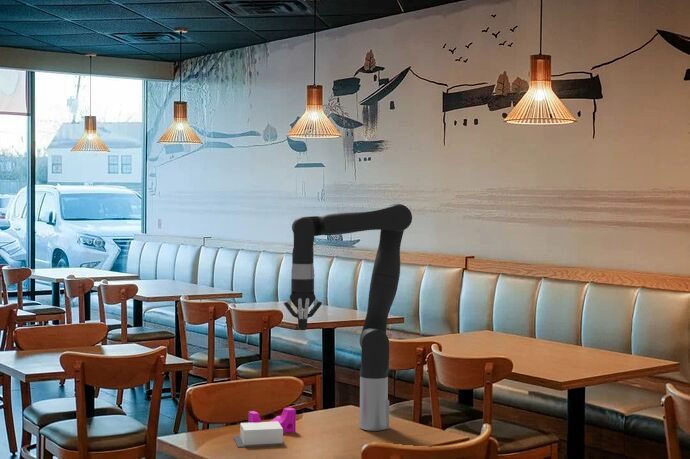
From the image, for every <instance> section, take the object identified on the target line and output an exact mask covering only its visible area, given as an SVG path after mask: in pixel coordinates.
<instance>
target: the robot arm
mask: <svg viewBox="0 0 690 459" xmlns="http://www.w3.org/2000/svg"><path fill="white" fill-rule="evenodd" d="M412 222H413V213H412V211H411V210H410V209H409V207H408V206H406V205H404V204H401V203H392V204H389V205H388V206H386V207H385V208H381V209H376V210H369V211H357V212H355V211H353V212H351V211H350V212H349V211H348V212H337V213H328V214H323V215H311V216H299V217H297V218H296V219H294V220H293V222H292V224H291V230H292V233H293V247H292V255H291V258H292V260H291V262H292V263H291V272H290V273H291V274H290V275H291V276H290V277H291V280H290V281H291V282H290V287H291V288H290V295H289V298H288V299H287V300H286V301H283V305H284V306H285V308H286V310H288V312H289V313H290V314H291V316H292V317H294V318H296V319H297V328H298V329H299V330H300V331H305V330H306V329H307V328H308V319H309V318H312V317H313V316H314V315H315V314H316V312H317V311H318V310H319V308H320V307H321V306H322V304H323V303H322V302H321V301H320V300H318V299H317V298H316V295H315V266H314V259H315V258H314V256H315V255H314V244H315V237H319V236H336V235H344V234H351V233H358V232H365V231H366V232H367V231H379V230H380V234H379V244H378V248H377V251H376V254H375V258H374V264H373V268H372V272H371V277H370V284H369V290H368V291H369V292H368V298H367V300H368V301H367V309H366V310H367V311H366V314H365V318H364V322H363V323H364V324H363V326H362V329H361V333H360V336H359V345H360V348H361V357H360V358H361V364H360V368H359V428H360V429H361V430H365V431H373V432H374V431H375V432H376V431H384V430H390V400H389V399H388V394H389V393H388V392H389V391H388V388H389V386H388V385H389V375H388V374H389V368H390V338H389V337H388V335H387V329H388V327H387V326H388V318H389V314H390V311H391V308H392V306H393V303H394V301H395V298H396V296H397V292H398V287H399V281H400V275H401V243H402V239H403V235H404V232H405V230H406V229H408V228H409V227H410V225H412ZM312 305H313V307H312V308H311V309H309V308H310V307H311V306H312ZM292 306H294V307H295V308H296V311H295V310H294V309H293V307H292Z"/></svg>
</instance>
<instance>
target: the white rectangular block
mask: <svg viewBox="0 0 690 459" xmlns="http://www.w3.org/2000/svg"><path fill="white" fill-rule="evenodd" d="M239 427H240V428H239V430H240V431H239V436H240V438H241V440H242V442H243V444H244V445H255V444H275V443H281V444H283V443H284V433H283V428H282V427H281V425H280V424H279V422H278V421H276V422H269V421H262V422H253V423H248V422H241V423H240V424H239Z"/></svg>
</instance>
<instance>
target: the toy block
mask: <svg viewBox="0 0 690 459" xmlns="http://www.w3.org/2000/svg"><path fill="white" fill-rule="evenodd" d="M282 410H283V411H282V413H281V415H276V416H275V417H274V418H273V419H272V420H270V421H268V422H276V421H278V422H279V424H280V425H281V427H282V428H283V434H287V433H286V432H290V433H296V432H297V431H296V427H297V426H296V423H297V421H296V420H297V418H296V417H297V415H296V414H297V413H296V412H297V411H296V409H295V408H293V407H284V408H283V409H282ZM247 421H248V422H247V423H253V422H263V421H262V419H261V418H260V413H259V412H257V411H255V410H250V411H249V410H248V420H247ZM295 431H296V432H295Z"/></svg>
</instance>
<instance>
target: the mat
mask: <svg viewBox="0 0 690 459" xmlns="http://www.w3.org/2000/svg"><path fill="white" fill-rule="evenodd" d="M232 437H233V440H234V442H235V444H236V447H237V448H255V447H273V446H274V447H276V446H282V445H283V443H275V444H255V445H244V444H243V442H242V440H241V438H240V435H237V436H236V435H235V436H232Z"/></svg>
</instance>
